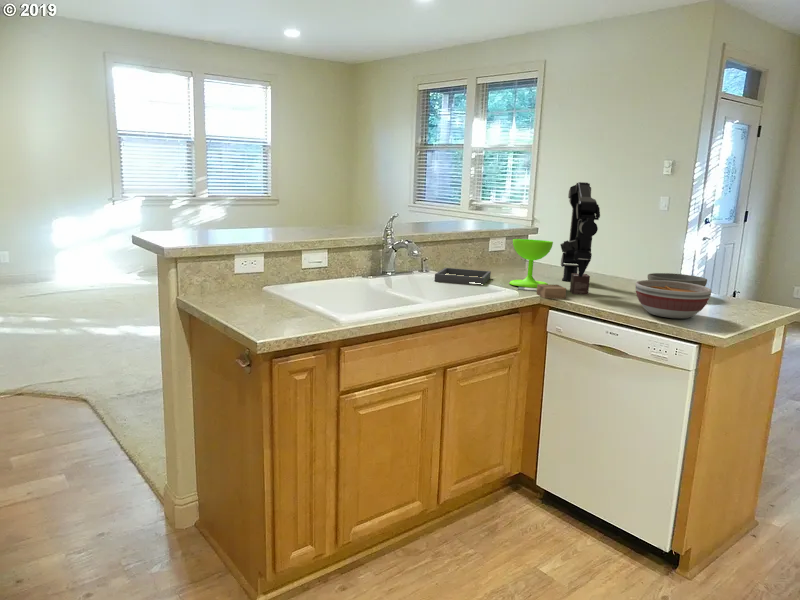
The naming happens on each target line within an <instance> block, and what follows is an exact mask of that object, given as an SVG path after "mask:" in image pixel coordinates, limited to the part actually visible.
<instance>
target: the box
mask: <svg viewBox="0 0 800 600" xmlns="http://www.w3.org/2000/svg"><path fill="white" fill-rule="evenodd" d="M590 278H591V276H590V275H589V274H587V273H584V274H583V276H582V277H580V276H579V273H578V272H577V273H572V274H571V282H570V285H569V292H570V293H571V294H572V295H589V291H590V290H589V289H590V280H591V279H590Z"/></svg>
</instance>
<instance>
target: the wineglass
mask: <svg viewBox="0 0 800 600" xmlns="http://www.w3.org/2000/svg"><path fill="white" fill-rule="evenodd" d="M553 245H554V242H553V241H552V240H542V239H529V238H527V239H526V238H513V239H512V246H513V249H514V251H515V252H516V254H517V255H518V256H520V257H521V258H523V259H524V260H527V261H528V263H527V264H528V267H527V276H526V277H525V278H524V279H512V280H511V281H509V283H508V284H509V285H512V286H517V287H519V286H522V287H533V288H537V284H546V285H549V284H548V283H547V282H545V281H539V280H536V279H534V277H533V270H534V261H538V260H541V259H543V258H544V257H546V256H548V255H549V253H550V251H551V250H552V249H553V248H552V247H553Z"/></svg>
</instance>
